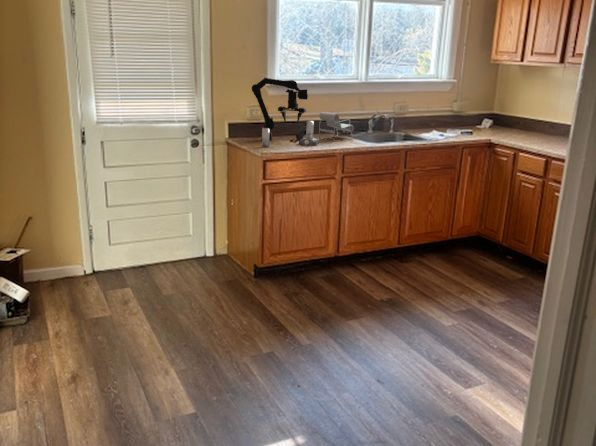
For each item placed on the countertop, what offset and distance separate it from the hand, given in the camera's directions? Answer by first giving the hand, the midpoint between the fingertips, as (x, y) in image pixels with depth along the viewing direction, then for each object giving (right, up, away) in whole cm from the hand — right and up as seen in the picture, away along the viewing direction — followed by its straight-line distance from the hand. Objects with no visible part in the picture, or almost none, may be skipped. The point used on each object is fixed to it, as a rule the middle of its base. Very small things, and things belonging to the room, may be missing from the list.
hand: (291, 122), depth 399 cm
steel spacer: (+12, -13, -6) cm, 19 cm away
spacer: (-17, -20, -24) cm, 35 cm away
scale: (+12, -16, -7) cm, 21 cm away
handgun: (+8, -10, +14) cm, 19 cm away
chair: (+32, -9, +19) cm, 38 cm away
